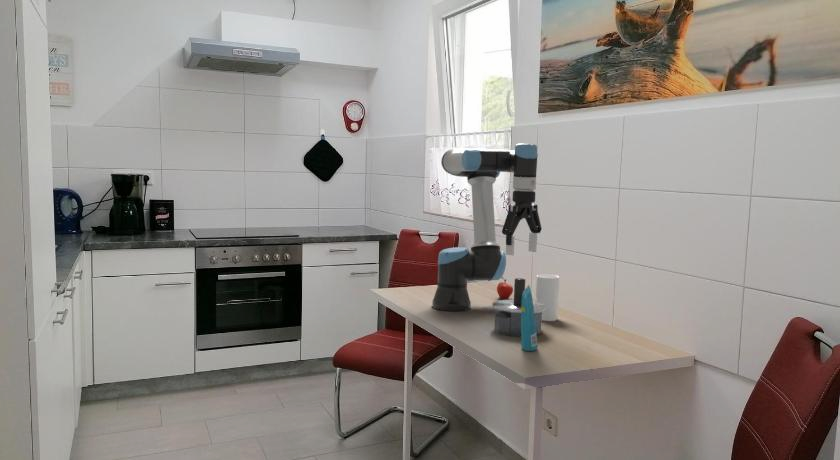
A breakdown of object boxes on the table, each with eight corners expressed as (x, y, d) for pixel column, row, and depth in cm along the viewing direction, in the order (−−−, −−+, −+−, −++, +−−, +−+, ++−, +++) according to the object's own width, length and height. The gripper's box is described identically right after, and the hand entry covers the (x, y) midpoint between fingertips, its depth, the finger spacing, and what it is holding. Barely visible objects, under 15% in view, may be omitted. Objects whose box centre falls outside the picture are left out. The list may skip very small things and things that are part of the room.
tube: (523, 342, 194) (520, 284, 189) (539, 343, 192) (536, 284, 188) (519, 352, 187) (516, 292, 183) (535, 353, 185) (532, 293, 181)
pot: (519, 340, 199) (521, 316, 198) (481, 331, 209) (482, 308, 208) (553, 329, 214) (554, 307, 213) (515, 321, 224) (516, 299, 223)
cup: (544, 322, 225) (546, 278, 223) (530, 316, 232) (532, 274, 230) (561, 320, 228) (564, 277, 227) (547, 315, 236) (549, 273, 234)
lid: (481, 306, 210) (482, 278, 209) (511, 299, 223) (513, 272, 222) (526, 316, 198) (527, 286, 197) (555, 308, 211) (557, 280, 210)
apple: (510, 297, 267) (511, 274, 266) (513, 300, 260) (514, 277, 259) (493, 296, 267) (494, 274, 266) (495, 300, 260) (496, 276, 259)
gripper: (512, 191, 195) (509, 257, 197) (553, 190, 213) (550, 251, 215) (492, 190, 200) (490, 255, 202) (534, 189, 218) (532, 249, 220)
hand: (521, 253), depth 209 cm, fingers open, 13 cm apart
